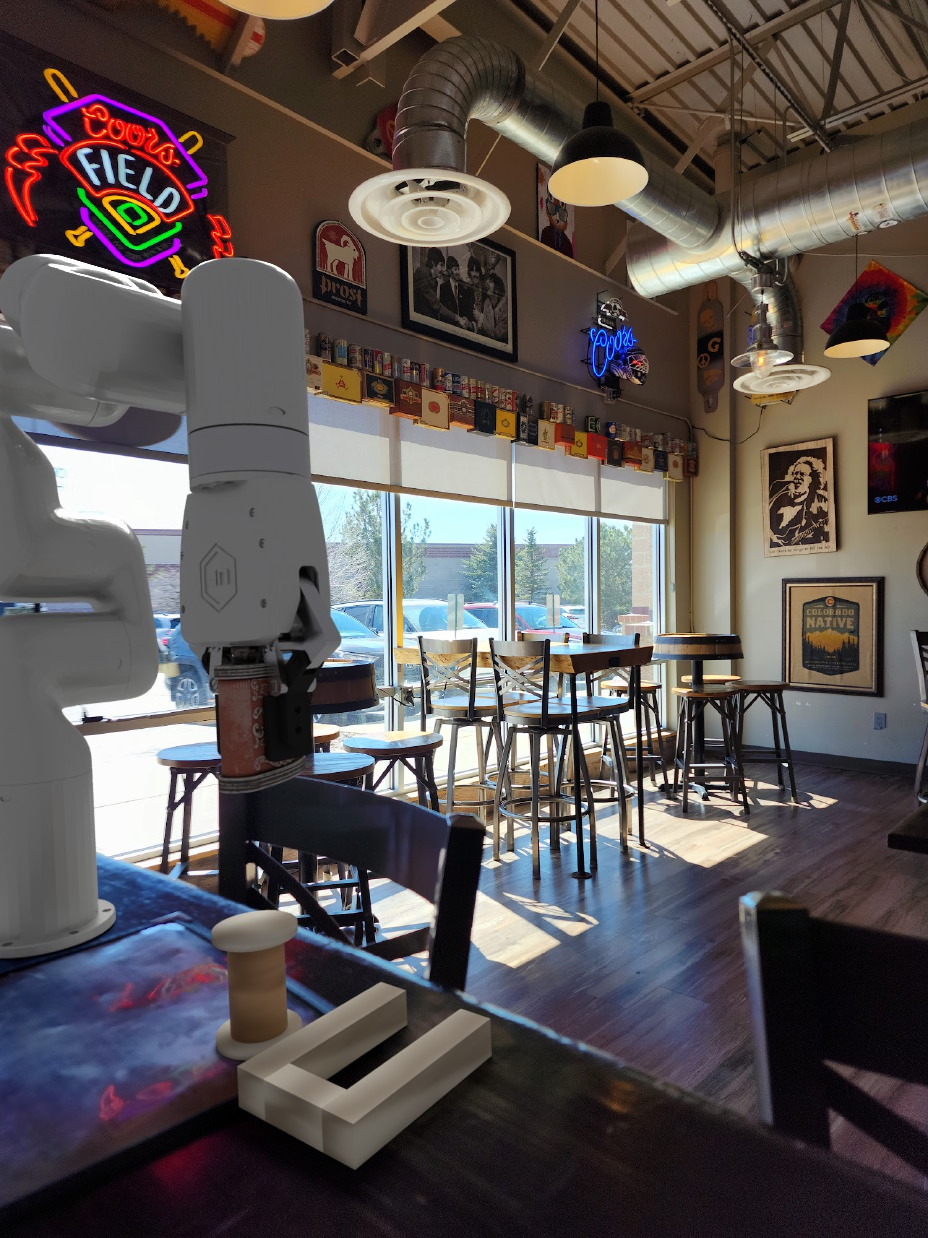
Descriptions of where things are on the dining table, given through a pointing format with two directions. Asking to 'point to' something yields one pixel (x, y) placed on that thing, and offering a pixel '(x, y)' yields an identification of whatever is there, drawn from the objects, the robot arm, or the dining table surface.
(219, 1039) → the bobbin
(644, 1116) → the dining table surface
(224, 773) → the lighter
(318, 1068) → the notched board
